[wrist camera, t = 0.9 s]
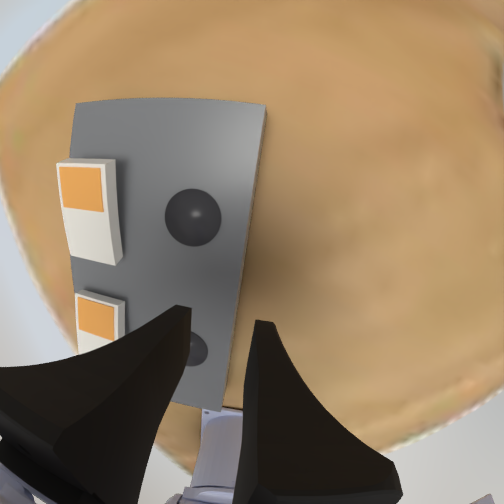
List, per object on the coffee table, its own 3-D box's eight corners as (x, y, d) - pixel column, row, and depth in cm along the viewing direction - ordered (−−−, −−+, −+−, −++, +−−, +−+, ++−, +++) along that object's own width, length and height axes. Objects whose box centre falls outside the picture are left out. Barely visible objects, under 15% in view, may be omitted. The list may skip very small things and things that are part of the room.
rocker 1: (123, 256, 16) (114, 266, 15) (79, 247, 16) (69, 256, 15) (115, 159, 13) (103, 164, 12) (67, 158, 13) (55, 163, 12)
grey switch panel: (226, 387, 23) (220, 413, 20) (106, 356, 23) (91, 376, 20) (267, 114, 16) (265, 104, 13) (100, 108, 16) (74, 103, 13)
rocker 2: (126, 375, 18) (119, 383, 16) (87, 361, 18) (79, 367, 16) (125, 301, 17) (117, 306, 16) (83, 289, 17) (74, 293, 16)
